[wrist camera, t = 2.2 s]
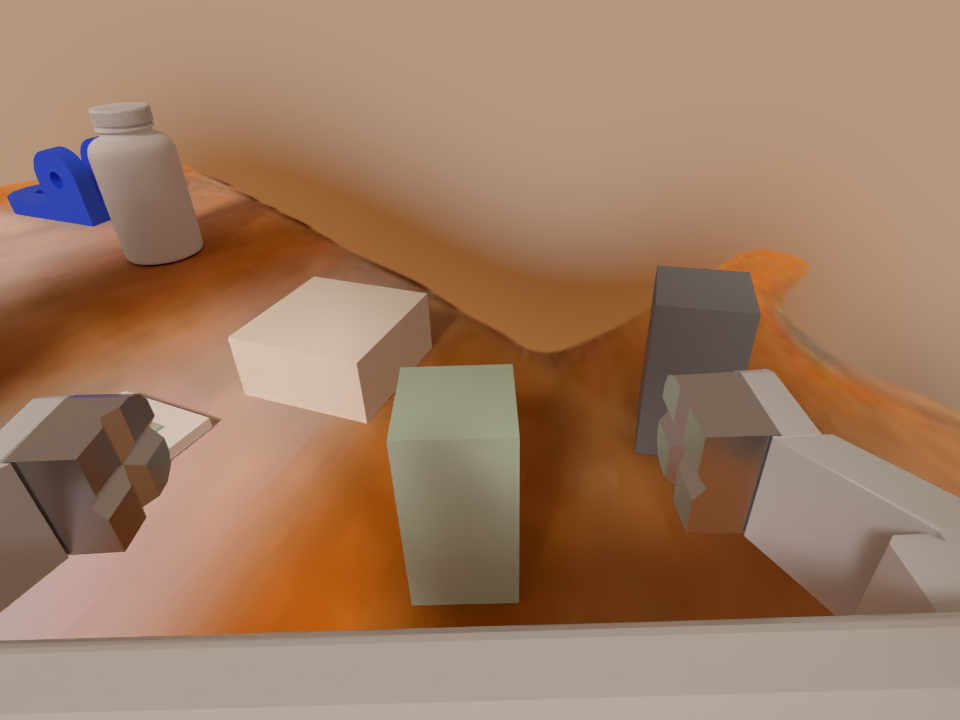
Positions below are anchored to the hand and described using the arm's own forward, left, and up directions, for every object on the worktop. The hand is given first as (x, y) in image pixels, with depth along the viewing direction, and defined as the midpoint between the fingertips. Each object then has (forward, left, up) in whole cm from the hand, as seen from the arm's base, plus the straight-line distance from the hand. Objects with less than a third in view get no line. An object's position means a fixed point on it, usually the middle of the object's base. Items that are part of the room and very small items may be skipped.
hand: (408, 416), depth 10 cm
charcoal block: (+3, +25, -19) cm, 31 cm away
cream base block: (-21, +23, -19) cm, 37 cm away
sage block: (-5, +11, -19) cm, 22 cm away
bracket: (-78, +42, -19) cm, 91 cm away
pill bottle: (-53, +35, -19) cm, 67 cm away
